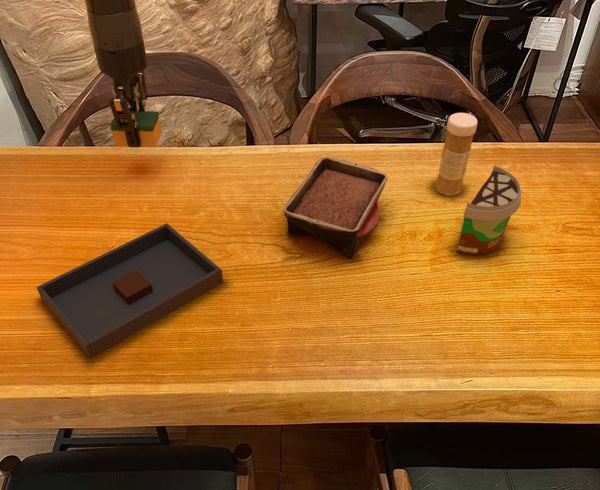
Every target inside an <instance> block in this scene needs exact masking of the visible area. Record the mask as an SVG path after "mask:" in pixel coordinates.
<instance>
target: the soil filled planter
mask: <svg viewBox="0 0 600 490" xmlns="http://www.w3.org/2000/svg"><path fill="white" fill-rule="evenodd" d="M388 180H389V177H388V175H387V174H386V173H385V172H382V171H380V170H378V169H375V168H373V167H369V166H366V165H362V164H358V163H355V162H352V161H348V160H345V159H340V158H335V157H330V156H322V157H319V159H318V160H317V161H316V162H315V164H314V166H313V167H312V169H311V170H310V172H309V173H308V174H307V176H306V178H305V179H304V180H303V181H302V183H300V185H299V186H298V188H297V189H296V190H295V192H293V193H292V195H291V196H290V198H289V200H288V201H287V202H286V204H285V205H284V206H283V216H284V218H286V223H287V232H286V233H285V235H290V234H299V233H300V234H301V233H308V234H310V235H311V236H313V237H315V238H316V239H318V240H319V241H321V242H323V243H324V244H325V245H327V246H329V247H331V248H332V249H333V250H335V251H336V252H337V251H338V252H339V253H341V254H343V255H345V256H347V257H348V258H350V259H354V255H355V254H356V251H357V250H358V248H359V246H360V245H361V244H362V242H363V241H364V240H365V239H366V237H367V236H368V235H369V233H370V232H372V231H373V230H374V229H375V228H376V227H377V226H378V225H379V220H380V208H379V205H378V202H379V199H380V197H381V194H382V192H383V190H384V188H385V186H386V184H387V181H388Z"/></svg>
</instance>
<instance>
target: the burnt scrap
mask: <svg viewBox="0 0 600 490" xmlns="http://www.w3.org/2000/svg"><path fill="white" fill-rule="evenodd" d="M112 284H113V287H114V290H115V291H116V292H117V293H118V294H119V295H120V296H121V297H122V298H123V299H124V300H125V301H126V302H127V303H128V305H129V304H131V303H133V302H135V301H137V300H138V299H140V298H142V297H144V296H146V295H148V294H149V293H151V292H153V289H152V285H151V283H150V282H149V281H148V280H147V279H146V278H144V277H143V276H142V275H141V274H140V273H139V272H138V271H137V270H136V271H134V272H132V273H130V274H128V275H126V276H124V277H122V278H120V279H118V280H116V281H114V282H112Z"/></svg>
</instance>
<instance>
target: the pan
mask: <svg viewBox="0 0 600 490" xmlns="http://www.w3.org/2000/svg"><path fill="white" fill-rule="evenodd" d="M136 270H137V271H138V272H139V273H140V274H141V275H142V276H143V277H144V278H146V279H147V280H148V281H149V282H150V283H151V285H152V289H153V292H151V293H149V294H148V295H146V296H144V297H142V298H140V299H138V300H137V301H135V302H133V303H131V304H129V305H128V303H127V302H126V301H125V300H124V299H123V298H122V297H121V296H120V295H119V294H118V293H117V292H116V291H115V290H114V287H113V284H112V282H114V281H116V280H118V279H120V278H122V277H124V276H126V275H128V274H130V273H132V272H134V271H136ZM223 283H224V277H223V272H222V269H221V268H220V267H219V266H218V265H217V264H216V263H214V261H212V260H211V259H210V258H208V256H206V255H205V254H204V253H203V252H202V251H201V250H199V248H197V247H196V246H195V245H193V244H192V243H191V242H190V241H188V240H187V239H186V238H185V237H184V236H183V235H181V234H180V233H179V232H178V231H176V229H174V228H173V227H172V226H171V225H170V224H169V223H168V222H166V223H164V224H162V225H160V226H158V227H156V228H154V229H152V230H150V231H147V232H146V233H144V234H141V235H140V236H138V237H135V238H134V239H132V240H129V241H128V242H127V241H126V242H125V243H124V244H121V245H119V246H118V247H115V248H113V249H110V250H109V251H107V252H104V253H103V254H101V255H98V256H97V257H95V258H93V259H91V260H89V261H86V262H85V263H83V264H80V265H79V266H77V267H74V268H72V269H71V270H69V271H67V272H64V273H61V274H60V275H58V276H55V277H54V278H52V279H50V280H47V281H46V282H44V283H41V284H40V285H37V286H35V287H36V290H37V293H38V294H39V295H38V296H39V297H40V299H41V300H42V302H43V303H44V304H45V305H46V307H47V308H48V309H49V311H51V313H52V314H53V316H54V317H55V318H56V319H57V320H58V322H59V323H60V324H61V325H62V326H63V327H64V329H65V330H66V331H67V332H68V334H69V335H70V336H71V337H72V338H73V340H74V341H75V342H76V344H78V346H79V347H80V348H81V349H82V351H83V352H84V353H85V354H86V356H87V357H88V358H89V359H93V358H95V357H97V356H98V355H100V354H102V353H103V352H105V351H107V350H108V349H110V348H112V347H114V346H115V345H118V344H119V343H121V342H123V341H124V340H126V339H128V338H129V337H131V336H133V335H135V334H136V333H138V332H140V331H141V330H144V329H146V328H147V327H148V326H151V325H152V324H154V323H156V322H158V321H159V320H160V319H162V318H164V317H166V316H168V315H169V314H171V313H173V312H174V311H176V310H178V309H179V308H181V307H183V306H185V305H186V304H188V303H190V302H192V301H193V300H195V299H197V298H199V297H201V296H202V295H204V294H206V293H207V292H209V291H211V290H213V289H214V288H216V287H218V286H220V285H221V284H223Z"/></svg>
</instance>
